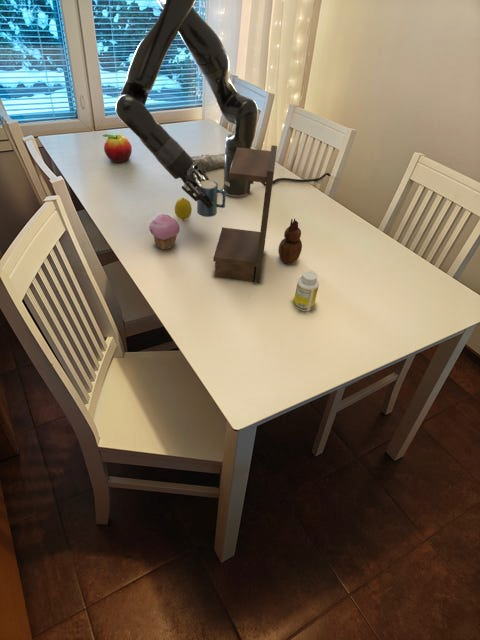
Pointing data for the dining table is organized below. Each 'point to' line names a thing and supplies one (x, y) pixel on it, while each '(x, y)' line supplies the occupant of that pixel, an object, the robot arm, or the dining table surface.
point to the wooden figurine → (290, 244)
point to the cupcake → (164, 231)
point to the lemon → (183, 209)
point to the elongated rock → (209, 161)
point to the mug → (212, 193)
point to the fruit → (117, 147)
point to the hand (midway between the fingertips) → (212, 201)
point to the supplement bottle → (306, 291)
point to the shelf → (242, 245)
